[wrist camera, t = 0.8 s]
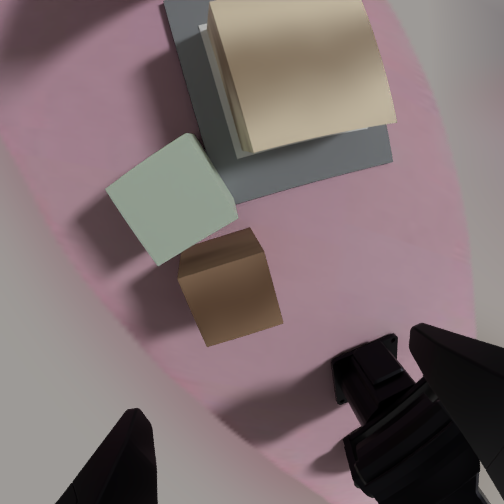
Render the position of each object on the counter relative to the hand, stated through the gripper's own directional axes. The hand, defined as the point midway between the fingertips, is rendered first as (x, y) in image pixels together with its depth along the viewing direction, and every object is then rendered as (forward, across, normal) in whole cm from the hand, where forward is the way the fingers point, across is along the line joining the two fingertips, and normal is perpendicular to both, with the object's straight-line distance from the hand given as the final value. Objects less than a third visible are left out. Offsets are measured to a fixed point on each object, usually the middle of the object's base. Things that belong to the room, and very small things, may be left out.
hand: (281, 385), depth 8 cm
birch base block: (+12, -6, -10) cm, 16 cm away
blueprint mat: (+12, -6, -10) cm, 17 cm away
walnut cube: (+12, +1, +1) cm, 12 cm away
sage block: (+12, +2, -5) cm, 13 cm away
